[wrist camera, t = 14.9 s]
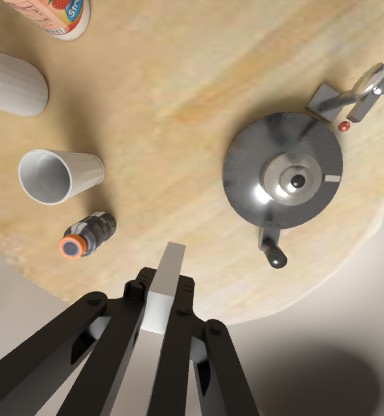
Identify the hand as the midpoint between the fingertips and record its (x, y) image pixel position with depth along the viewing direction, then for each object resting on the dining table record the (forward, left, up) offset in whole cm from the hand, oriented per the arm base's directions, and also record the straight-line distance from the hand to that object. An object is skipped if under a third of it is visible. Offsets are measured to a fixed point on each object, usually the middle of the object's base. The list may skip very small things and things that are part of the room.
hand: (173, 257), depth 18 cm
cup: (+6, -20, -25) cm, 32 cm away
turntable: (-10, +12, -23) cm, 28 cm away
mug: (0, -37, -25) cm, 44 cm away
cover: (-12, +11, -21) cm, 27 cm away
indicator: (-24, +11, -24) cm, 36 cm away
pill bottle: (+15, -13, -25) cm, 32 cm away
